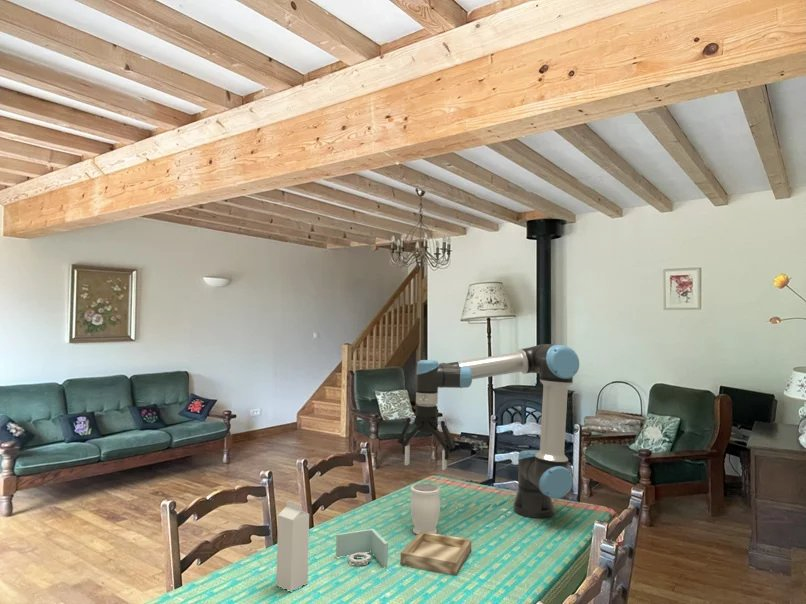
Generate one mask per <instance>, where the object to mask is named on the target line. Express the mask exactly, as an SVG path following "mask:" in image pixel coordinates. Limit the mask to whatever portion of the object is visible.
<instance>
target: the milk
mask: <svg viewBox="0 0 806 604" xmlns="http://www.w3.org/2000/svg"><path fill="white" fill-rule="evenodd" d="M302 507H303V506H302V504H301V503H298V502H294V501H290V500H287V501H286V506H285V507H284V508H283V509H282V510H281V511H280V513H278V516H277V540H276V542H277V546H276V579H275V580H276V581H275V585H276V584H277V585H279V586H281V587H283V588H285V589H287V590H290V591H292V590H294V589H296V588H299V587H301V586H302V585H304V584H306V583H308V582H309V581H308V580H309V575H308V574H309V573H308V572H309V543H310V541H309V539H310V538H309V537H310V535H309V534H310V513H308V512H306V511H303V509H302ZM301 588H302V587H301ZM299 589H300V588H299Z"/></svg>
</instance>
